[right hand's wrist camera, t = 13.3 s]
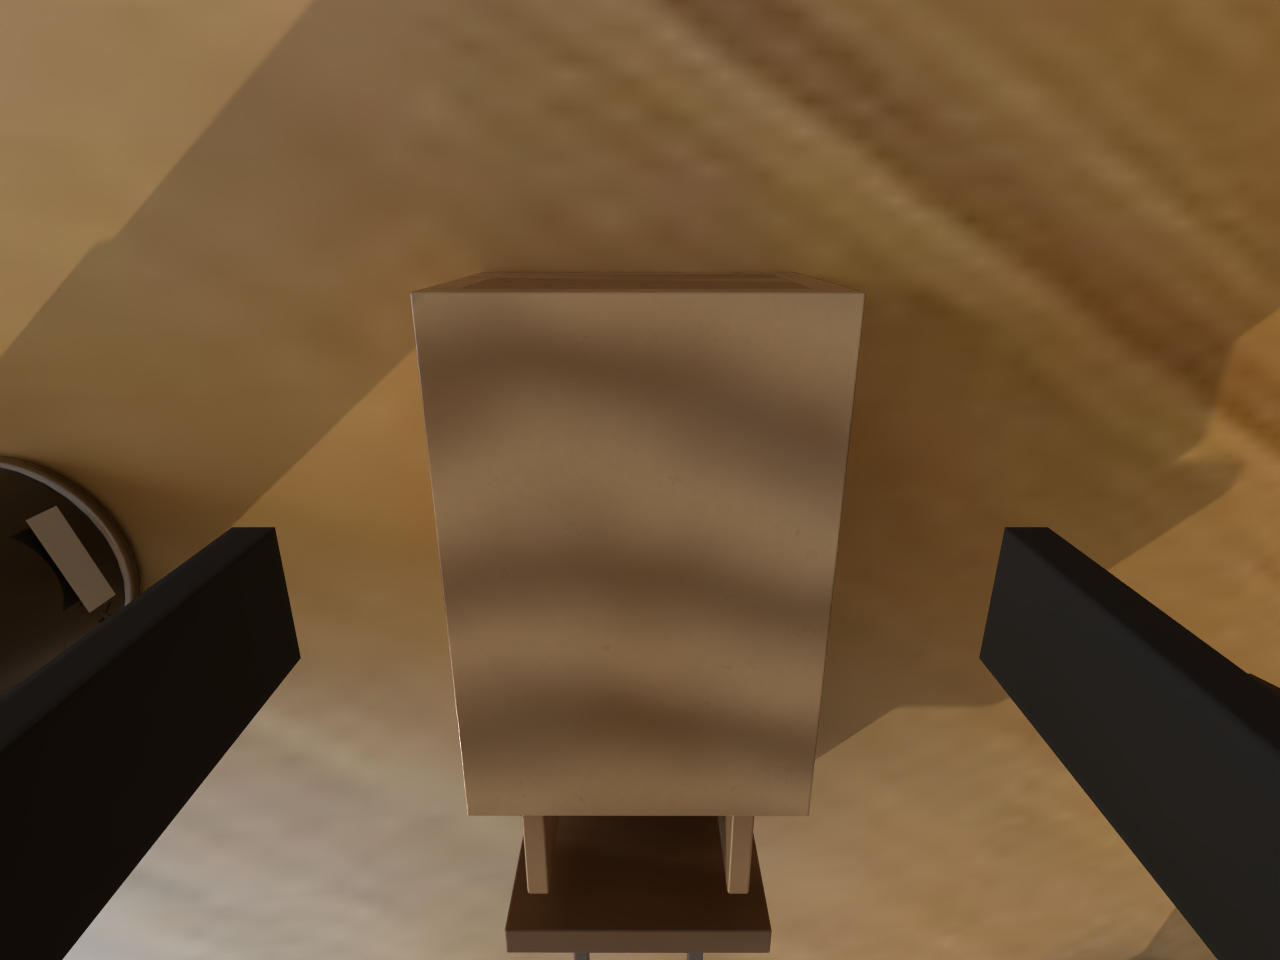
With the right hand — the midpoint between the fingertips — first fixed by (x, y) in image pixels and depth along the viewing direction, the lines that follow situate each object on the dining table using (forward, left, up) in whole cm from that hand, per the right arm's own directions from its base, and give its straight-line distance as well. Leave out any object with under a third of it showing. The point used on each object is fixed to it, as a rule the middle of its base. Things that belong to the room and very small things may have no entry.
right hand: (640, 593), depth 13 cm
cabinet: (+2, +3, -15) cm, 15 cm away
